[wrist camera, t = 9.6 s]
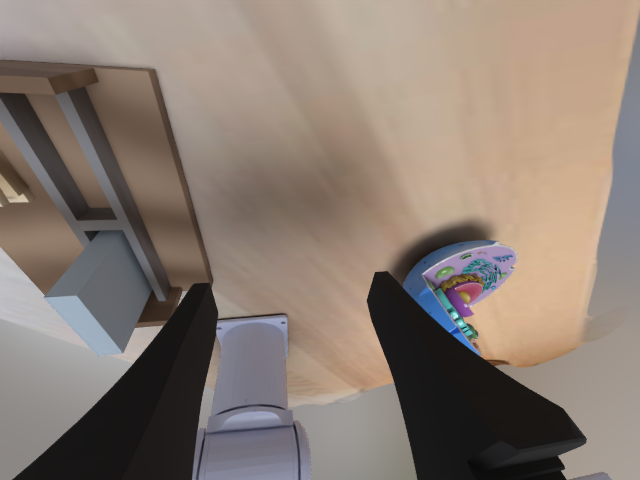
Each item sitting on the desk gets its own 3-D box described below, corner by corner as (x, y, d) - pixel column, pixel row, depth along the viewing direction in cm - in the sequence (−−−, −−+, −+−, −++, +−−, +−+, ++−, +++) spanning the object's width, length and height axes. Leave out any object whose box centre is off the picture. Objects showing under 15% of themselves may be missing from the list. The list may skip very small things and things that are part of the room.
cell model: (501, 252, 29) (581, 329, 21) (408, 305, 32) (448, 386, 25) (474, 197, 23) (569, 274, 16) (365, 268, 27) (401, 358, 20)
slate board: (156, 281, 22) (123, 353, 17) (136, 282, 22) (97, 355, 17) (128, 224, 18) (76, 295, 13) (105, 224, 18) (43, 297, 13)
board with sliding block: (213, 281, 25) (203, 321, 21) (56, 290, 22) (18, 337, 19) (154, 69, 14) (117, 81, 11) (-150, 50, 12) (-322, 57, 8)
